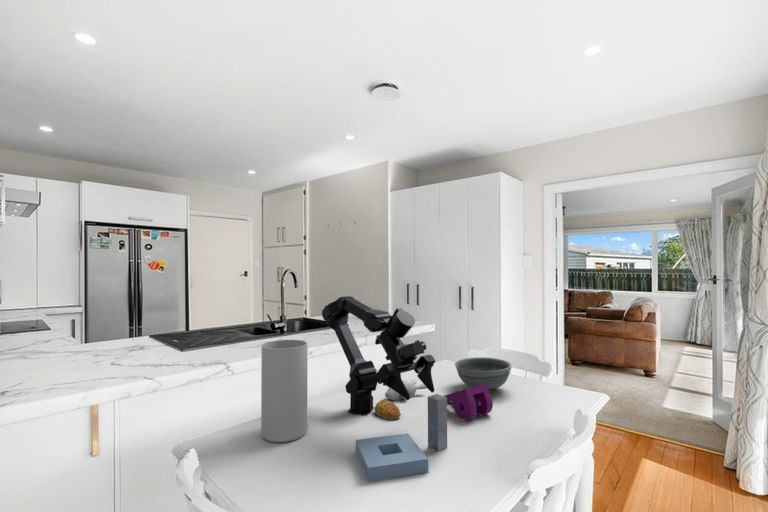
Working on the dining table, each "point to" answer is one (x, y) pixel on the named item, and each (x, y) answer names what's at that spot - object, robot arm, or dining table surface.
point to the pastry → (387, 410)
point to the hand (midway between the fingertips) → (421, 395)
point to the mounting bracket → (471, 402)
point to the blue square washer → (390, 457)
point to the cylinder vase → (284, 390)
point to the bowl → (483, 372)
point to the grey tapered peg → (437, 422)
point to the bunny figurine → (410, 388)
